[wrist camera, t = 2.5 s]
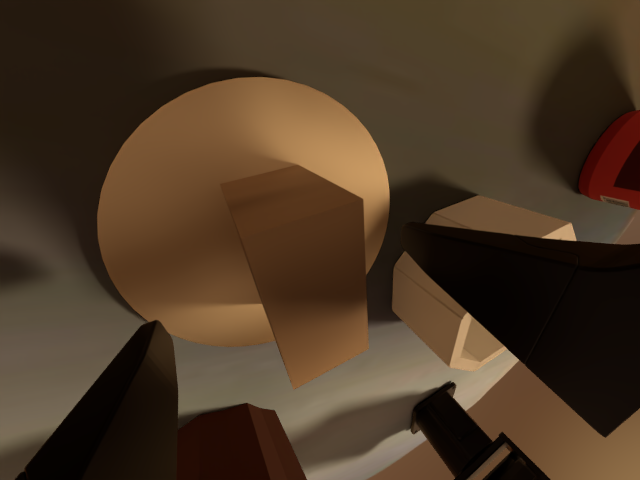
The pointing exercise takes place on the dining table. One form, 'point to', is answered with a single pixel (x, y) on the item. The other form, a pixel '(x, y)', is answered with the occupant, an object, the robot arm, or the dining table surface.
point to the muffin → (236, 447)
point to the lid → (249, 221)
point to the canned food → (615, 164)
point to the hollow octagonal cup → (438, 307)
